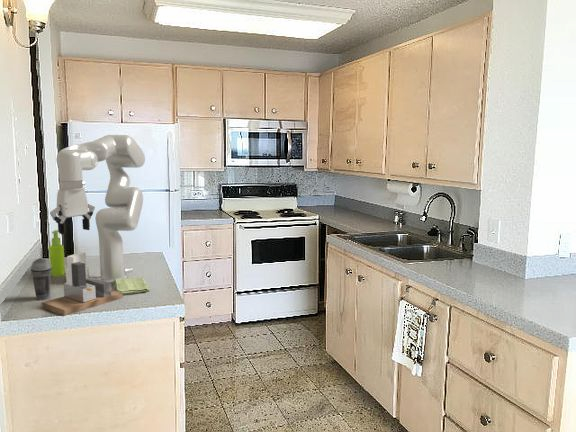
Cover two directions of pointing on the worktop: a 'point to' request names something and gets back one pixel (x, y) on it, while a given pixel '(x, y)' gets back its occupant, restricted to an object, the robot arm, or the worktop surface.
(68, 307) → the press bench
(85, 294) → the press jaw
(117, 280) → the washcloth
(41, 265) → the beverage cup
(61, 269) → the soap dispenser
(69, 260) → the base with upright slab
